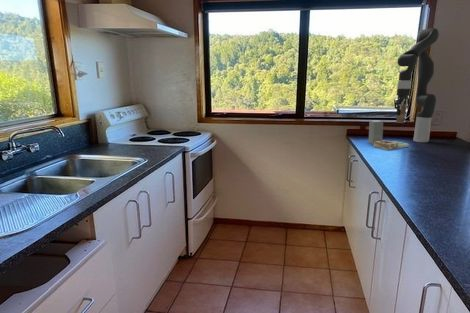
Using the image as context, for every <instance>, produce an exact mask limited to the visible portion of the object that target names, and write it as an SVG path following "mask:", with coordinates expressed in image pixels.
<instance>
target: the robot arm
mask: <svg viewBox="0 0 470 313" xmlns="http://www.w3.org/2000/svg"><path fill="white" fill-rule="evenodd" d="M417 33H418V34H417V43H414V45H412V46H411V47H410V48H409V49H408V50H406V51H405V52H403V53H401V54H400V55H399V56H398V58H397V65H398V67H407V68H406V69H403V70H400V71H399V74H398V83H397V88H396V96H397V98H394V99H393V105H394V109H396V116H397V115H398V116H400V113H401V110H400V109H401V107H402V106H403V104H406V109H405V114H406V112H407V109H408V108H410V104H411V101H412V98H410V97H409V96H410V95H411V88H412V77H413V72H414V69H415V67H416V64H417V88H416V89H417V90H416V96H415V98H416V100H415V102H416V103H415V104H416V105H417V106H418V107H420V108H422V110H421V111H418V112H417V113H416V118H415V119H416V120H415V125H414V127H415V128H414V134H413V142H416V143H428V142H430V134H431V124H432V118H433V115H434V111H435V108H436V103H437V97H436V95H435V94H434V93H427V90H428V85H429V82H430V81H431V80H432V78H433V76H434V74H435V72H434V71H435V63H434V61H433V59H432V57H431V56H430V55H429V53H428V52H427V49H428V48H429V47H430V46H432V45H433V44H434V43H436V42H437V41H438V39H439V35H440V34H439V30H438V29H437V28H435V27H431V28H426V29H420V30H418V32H417ZM399 106H400V107H399Z"/></svg>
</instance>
